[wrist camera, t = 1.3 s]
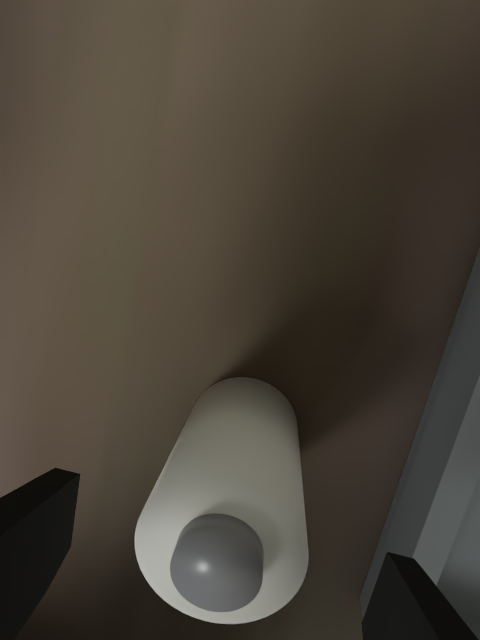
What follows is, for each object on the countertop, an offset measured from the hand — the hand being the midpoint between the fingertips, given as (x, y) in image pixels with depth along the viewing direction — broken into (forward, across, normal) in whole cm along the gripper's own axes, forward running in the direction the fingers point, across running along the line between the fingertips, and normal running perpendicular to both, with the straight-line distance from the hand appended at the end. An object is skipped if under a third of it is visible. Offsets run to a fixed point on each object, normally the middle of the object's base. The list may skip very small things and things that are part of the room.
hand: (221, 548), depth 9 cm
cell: (+6, 0, 0) cm, 6 cm away
